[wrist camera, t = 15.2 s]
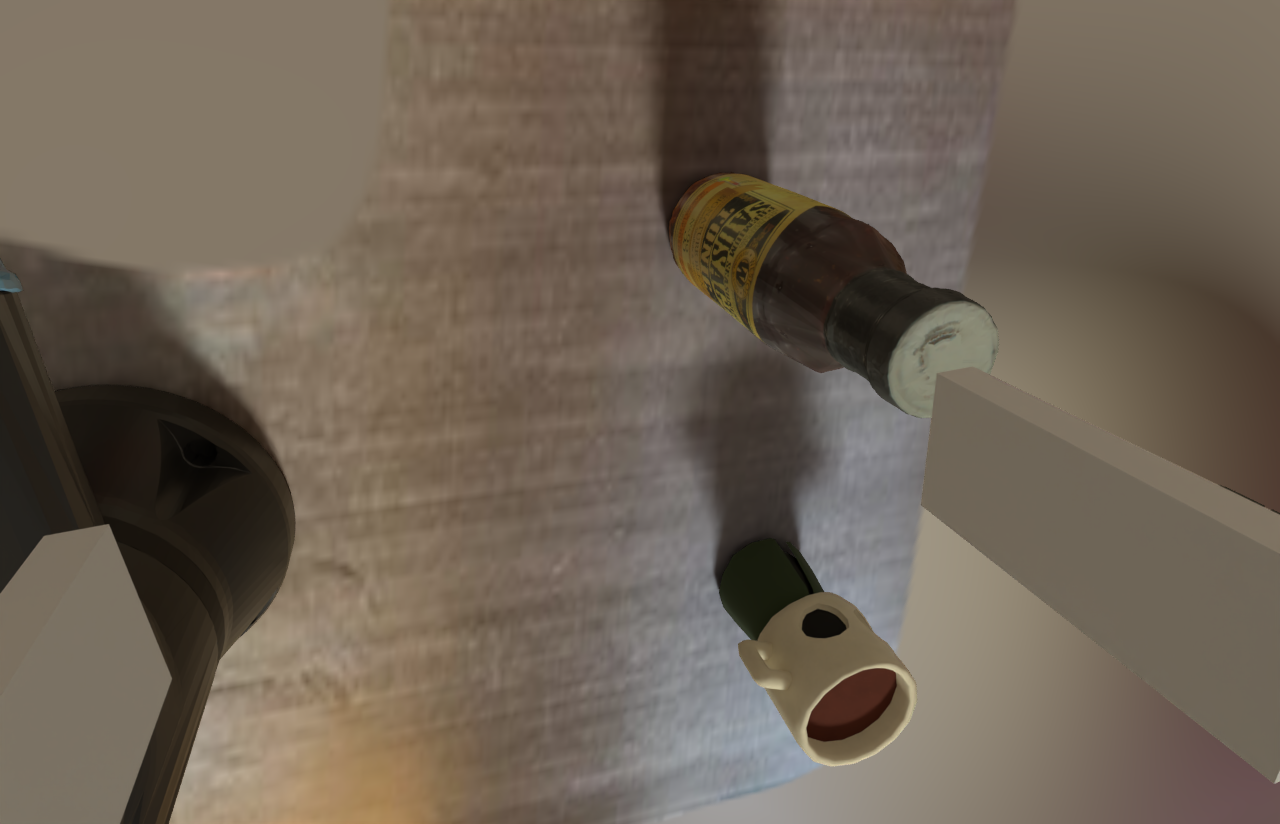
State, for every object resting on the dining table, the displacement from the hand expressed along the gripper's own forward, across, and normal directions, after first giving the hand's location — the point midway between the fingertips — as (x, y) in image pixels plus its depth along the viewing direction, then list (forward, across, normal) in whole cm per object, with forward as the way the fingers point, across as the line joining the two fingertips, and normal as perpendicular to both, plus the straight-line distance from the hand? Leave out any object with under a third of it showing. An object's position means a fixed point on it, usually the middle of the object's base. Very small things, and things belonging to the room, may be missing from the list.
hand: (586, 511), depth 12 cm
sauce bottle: (+28, +14, -2) cm, 31 cm away
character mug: (+28, +16, -25) cm, 41 cm away
